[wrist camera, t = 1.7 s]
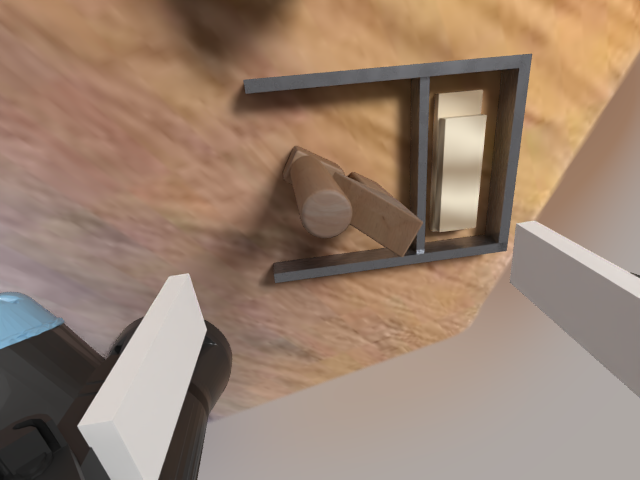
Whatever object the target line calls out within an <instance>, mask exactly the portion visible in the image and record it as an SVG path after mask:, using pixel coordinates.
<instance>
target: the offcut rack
mask: <svg viewBox="0 0 640 480" xmlns="http://www.w3.org/2000/svg"><path fill="white" fill-rule="evenodd" d="M531 59H532V54H523V55H512V56H501V57H490V58H479V59H468V60H457V61H446V62H435V63H424V64H413V65H402V66H391V67H380V68H369V69H358V70H347V71H336V72H325V73H314V74H303V75H292V76H281V77H270V78H259V79H248V80H244V87H245V93H246V94H250V93H260V92H271V91H282V90H292V89H303V88H313V87H324V86H335V85H345V84H356V83H367V82H377V81H388V80H399V79H409V78H411V139H410V211H411V212H412V213H413V214H414V215H416V216H417V217H418V218H419V219H420V220H422V221H423V224H422V226H421V228H420V229H419V231H418V233H417V235H416V236H415V238H414V240H413V241H412V243H411V245H410V246H409V248H408V250H407V251H406V253H405V255H404V257H400V256H398V255H396V254H395V253H393V252H392V251H390V250H389V249H387V248H381V249H374V250H366V251H359V252H351V253H344V254H336V255H329V256H321V257H314V258H307V259H299V260H292V261H284V262H277V263H274V279H275V283H279V282H286V281H293V280H300V279H308V278H315V277H322V276H329V275H336V274H344V273H351V272H358V271H365V270H372V269H380V268H387V267H394V266H401V265H408V264H416V263H423V262H430V261H437V260H444V259H451V258H459V257H466V256H473V255H480V254H487V253H495V252H502V251H507V244H508V236H509V228H510V220H511V213H512V205H513V197H514V190H515V182H516V174H517V167H518V159H519V151H520V143H521V136H522V128H523V120H524V113H525V105H526V97H527V90H528V82H529V74H530V67H531ZM494 70H502V73H501V83H500V93H499V103H498V113H497V122H496V132H495V142H494V152H493V162H492V171H491V181H490V191H489V201H488V211H487V221H486V230H485V235H478V236H470V237H463V238H455V239H448V240H441V241H433V242H426V243H425V216H426V183H427V150H428V117H429V84H430V77H431V76H441V75H452V74H462V73H473V72H484V71H494Z"/></svg>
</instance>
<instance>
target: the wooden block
mask: <svg viewBox="0 0 640 480" xmlns="http://www.w3.org/2000/svg"><path fill="white" fill-rule="evenodd" d="M283 178H284V181H285V182H288V183H290V184H292V185H293V189H294V193H295V197H296V202H297V206H298V210H299V214H300V219H301V222H302V224H303V226H304V228H305V229H306V230H307V231H308V232H309V233H310V234H312V235H314V236H315V237H320V238H332V237H334V236H337V235H339V234H340V233H342V232H343V231H344V230H345V229H346V228H347V226H348V225H349V224H350V225H352V226H353V227H355V228H356V229H358V230H360V231H361V232H363V233H364V234H366V235H367V236H369V237H370V238H372V239H373V240H375V241H376V242H378V243H380V244H381V245H383V246H384V247H386V248H387V249H389V250H390V251H392V252H393V253H395V254H396V255H398V256H400V257H404V255H405V253H406V251H407V250H408V248H409V246H410V245H411V243H412V241H413V240H414V238H415V236H416V235H417V233H418V231H419V229H420V228H421V226H422V224H423V221H422V220H420V219H419V218H418V217H417V216H416V215H414V214H413V213H412V212H411V211H410V210H409V209H407V208H406V207H405V206H404V205H403V204H401V203H400V202H399V201H398V200H397V199H395V198H394V197H393V196H392V195H391V194H389V193H388V192H387V191H386V190H385V189H383V188H382V187H381V186H380V185H379V184H377V183H376V182H374V181H372V180H370V179H368V178H366V177H364V176H361V175H359V174H357V173H355V172H352V173H351V174H350V176H349V177H347V176H345V174H344V172H343V170H342V169H341V168H340V167H339V166H338V165H337V164H335V163H333V162H331V161H329V160H327V159H325V158H322V157H320V156H318V155H316V154H314V153H312V152H310V151H307V150H305V149H303V148H301V147H299V146H294V148H293V150H292V152H291V155H290V157H289V159H288V162H287V164H286V166H285V169H284V171H283Z"/></svg>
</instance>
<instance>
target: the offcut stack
mask: <svg viewBox="0 0 640 480" xmlns="http://www.w3.org/2000/svg"><path fill="white" fill-rule="evenodd" d="M482 97H483V90H470V91H459V92H448V93H437V94H435V100H434V124H433V147H432V171H431V194H430V217H429V229H430V230H431V231H432V232H435V231H439V232H445V231H453V230H461V229H469V228H476V220H477V209H478V199H479V189H480V179H481V169H482V158H483V148H484V138H485V128H486V118H487V115H483V114H481V108H482Z"/></svg>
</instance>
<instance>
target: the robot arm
mask: <svg viewBox="0 0 640 480" xmlns="http://www.w3.org/2000/svg"><path fill="white" fill-rule="evenodd" d="M510 283H511V284H512V285H513V286H514V287H516V288H517V289H518V290H519V291H520V292H521V293H522V294H523V295H525V296H526V297H527V298H528V299H529V300H530V301H531V302H533V303H534V304H535V305H536V306H537V307H538V308H539V309H540V310H541V311H543V312H544V313H545V314H546V315H547V316H548V317H549V318H550V319H552V320H553V321H554V322H555V323H556V324H557V325H558V326H560V327H561V328H562V329H563V330H564V331H565V332H566V333H567V334H569V335H570V336H571V337H572V338H573V339H574V340H575V341H576V342H577V343H579V344H580V345H581V346H582V347H583V348H584V349H585V350H586V351H588V352H589V353H590V354H591V355H592V356H593V357H594V358H595V359H597V360H598V361H599V362H600V363H601V364H602V365H603V366H604V367H606V368H607V369H608V370H609V371H610V372H611V373H612V374H613V375H615V376H616V377H617V378H618V379H619V380H620V381H621V382H622V383H624V384H625V385H626V386H627V387H628V388H629V389H630V390H631V391H633V392H634V393H635V394H636V395H637V396H638V397H639V398H640V275H637V274H634V273H629V272H627V271H625V270H624V269H622V268H620V267H618V266H616V265H615V264H613V263H611V262H609V261H607V260H606V259H604V258H602V257H600V256H598V255H596V254H595V253H593V252H591V251H589V250H587V249H586V248H584V247H582V246H580V245H578V244H576V243H575V242H573V241H571V240H569V239H567V238H565V237H564V236H562V235H560V234H558V233H556V232H554V231H553V230H551V229H549V228H547V227H546V226H544V225H542V224H540V223H538V222H536V221H529V222H522V223H516V230H515V239H514V248H513V258H512V267H511V276H510ZM64 322H65V321H64V320H63V319H62V318H57V317H56V316H54V315H53V314H52V313H50V312H49V311H48V310H46V309H45V308H44V307H42V306H41V305H40V304H38V303H37V302H36V301H35V300H33V299H32V298H31V297H29V296H27V295H25V294H22V293H18V292H4V293H0V480H197V478H198V472H199V466H200V461H201V454H202V449H203V443H204V437H205V431H206V426H207V421H208V416H209V413H210V412H211V410H212V409H213V407H214V405H215V404H216V402H217V400H218V399H219V397H220V395H221V394H222V392H223V391H224V389H225V388H226V386H227V383H228V381H229V377H230V373H231V366H232V352H231V348H230V345H229V343H228V341H227V340H226V338H225V336H224V335H223V334H222V333H221V332H220V331H219V330H218V329H217V328H216V327H215V326H214V325H212V324H211V323H209V322H208V321H206V320H204V319H203V316H202V313H201V310H200V307H199V303H198V300H197V297H196V294H195V291H194V288H193V285H192V282H191V279H190V275H189V273H188V274H181V275H175V276H169V278H168V279H167V281H166V282H165V284H164V286H163V287H162V289H161V291H160V292H159V294H158V295H157V297H156V299H155V300H154V302H153V304H152V305H151V307H150V308H149V310H148V312H147V313H146V315H145V317H142V318H140V319H138V320H136V321H134V322H133V323H131V324H130V325H129V326H128V327H126V328H125V329H124V331H123V332H122V333H121V334H120V336H119V337H118V339H117V341H116V342H115V344H114V345H113V347H112V349H111V351H110V354H109V357H108V358H107V359H106V360H105V359H104V358H103V357H102V356H101V355H100V354H98V353H97V352H96V351H95V350H94V349H93V348H91V347H90V346H89V345H88V344H87V343H86V342H85V341H83V340H82V339H81V338H80V337H79V336H78V335H76V334H75V333H74V332H73V331H72V330H71V329H70V328H68V327H67V326H66V325H65V324H64Z"/></svg>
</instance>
